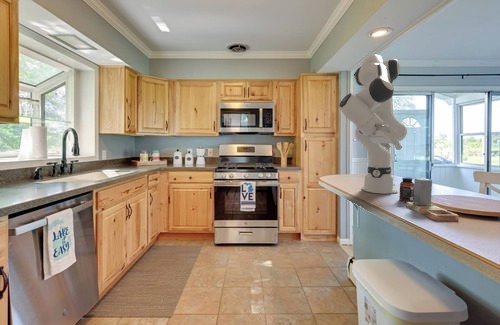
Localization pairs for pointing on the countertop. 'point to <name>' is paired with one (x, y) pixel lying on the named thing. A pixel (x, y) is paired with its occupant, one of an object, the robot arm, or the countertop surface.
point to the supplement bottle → (406, 190)
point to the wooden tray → (434, 212)
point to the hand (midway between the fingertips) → (394, 148)
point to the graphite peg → (422, 192)
